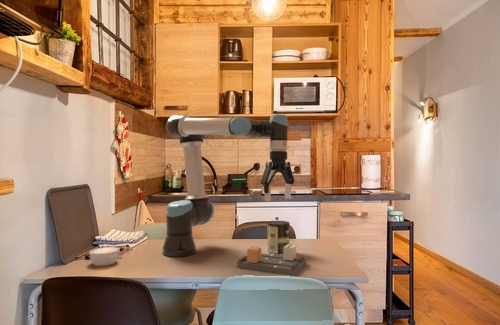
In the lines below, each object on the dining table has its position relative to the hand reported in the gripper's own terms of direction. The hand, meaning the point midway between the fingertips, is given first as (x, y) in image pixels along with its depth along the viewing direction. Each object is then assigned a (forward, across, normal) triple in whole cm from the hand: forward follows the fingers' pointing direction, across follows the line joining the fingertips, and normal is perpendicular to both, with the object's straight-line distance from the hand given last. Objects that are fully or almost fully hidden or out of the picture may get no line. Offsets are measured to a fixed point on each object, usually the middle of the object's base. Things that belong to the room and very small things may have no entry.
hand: (277, 199), depth 148 cm
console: (+25, -9, -5) cm, 27 cm away
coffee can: (+26, +8, +6) cm, 27 cm away
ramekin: (+27, -55, +48) cm, 77 cm away
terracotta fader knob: (+23, -15, -1) cm, 28 cm away
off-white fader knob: (+23, -3, -9) cm, 25 cm away
